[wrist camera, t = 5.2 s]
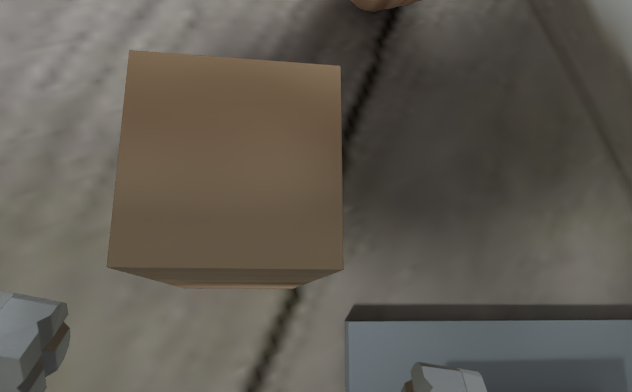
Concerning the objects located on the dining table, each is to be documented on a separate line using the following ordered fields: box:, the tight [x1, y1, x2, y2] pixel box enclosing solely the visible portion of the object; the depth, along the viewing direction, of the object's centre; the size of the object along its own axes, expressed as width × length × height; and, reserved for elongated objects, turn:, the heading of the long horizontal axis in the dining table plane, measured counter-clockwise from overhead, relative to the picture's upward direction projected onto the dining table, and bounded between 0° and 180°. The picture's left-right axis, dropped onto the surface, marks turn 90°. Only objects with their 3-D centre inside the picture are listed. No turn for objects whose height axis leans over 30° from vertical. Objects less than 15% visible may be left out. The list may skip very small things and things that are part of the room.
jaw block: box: [107, 50, 344, 289], centre depth 16 cm, size 5×5×12 cm
